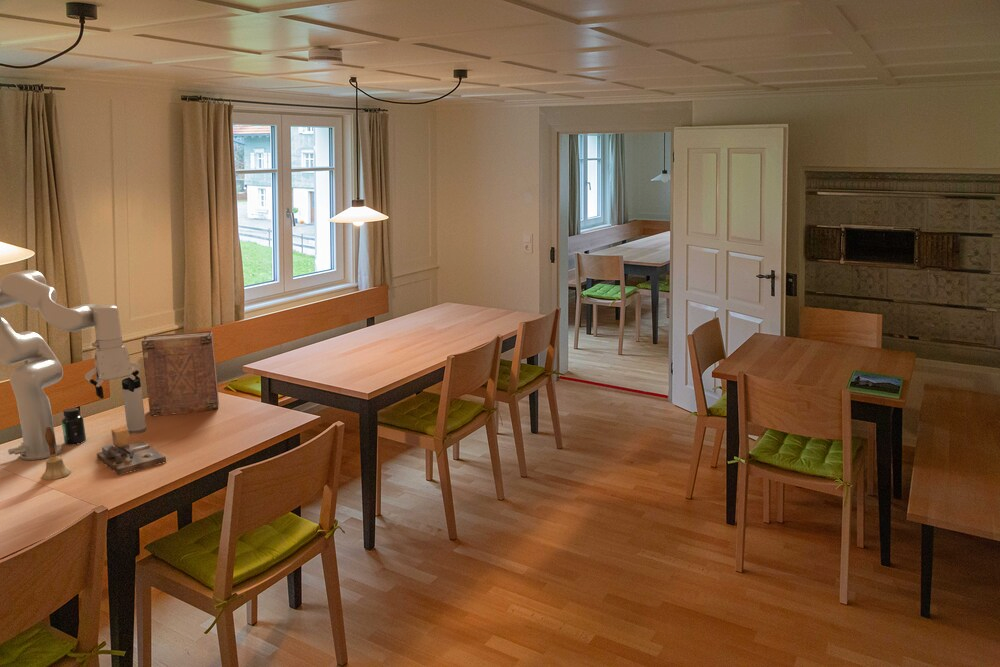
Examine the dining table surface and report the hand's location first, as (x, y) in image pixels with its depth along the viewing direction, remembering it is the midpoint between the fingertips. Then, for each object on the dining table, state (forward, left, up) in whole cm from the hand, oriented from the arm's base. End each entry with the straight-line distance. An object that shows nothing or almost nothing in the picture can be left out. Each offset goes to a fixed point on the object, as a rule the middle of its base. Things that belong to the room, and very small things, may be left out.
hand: (116, 394), depth 268 cm
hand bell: (-20, +2, -23) cm, 31 cm away
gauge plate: (+1, -3, -22) cm, 23 cm away
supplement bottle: (-6, +30, -23) cm, 38 cm away
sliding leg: (0, -4, -20) cm, 20 cm away
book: (+36, +38, -23) cm, 57 cm away
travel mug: (+13, +26, -23) cm, 37 cm away
